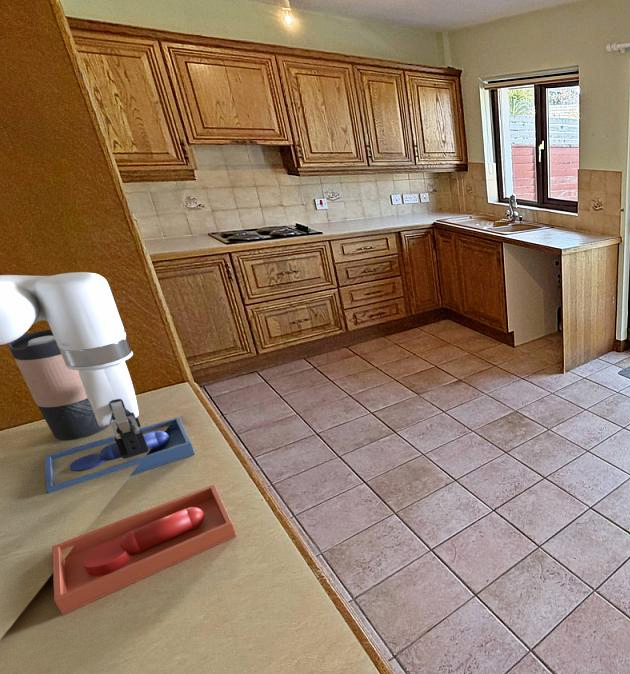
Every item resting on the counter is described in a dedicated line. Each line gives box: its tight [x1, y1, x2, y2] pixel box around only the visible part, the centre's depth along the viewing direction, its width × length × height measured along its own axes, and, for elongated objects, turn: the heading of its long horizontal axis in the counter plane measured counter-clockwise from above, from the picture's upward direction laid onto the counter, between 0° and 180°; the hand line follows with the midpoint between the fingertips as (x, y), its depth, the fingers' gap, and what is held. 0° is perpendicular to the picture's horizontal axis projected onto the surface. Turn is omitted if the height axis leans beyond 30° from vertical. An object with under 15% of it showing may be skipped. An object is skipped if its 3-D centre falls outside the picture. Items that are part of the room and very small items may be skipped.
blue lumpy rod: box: [68, 430, 169, 473], centre depth 81 cm, size 12×4×3 cm, turn 137°
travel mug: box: [7, 329, 111, 441], centre depth 83 cm, size 8×8×20 cm
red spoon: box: [83, 507, 204, 576], centre depth 65 cm, size 12×4×3 cm, turn 137°
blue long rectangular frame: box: [44, 416, 196, 494], centre depth 81 cm, size 11×17×2 cm, turn 137°
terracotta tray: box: [51, 484, 237, 616], centre depth 65 cm, size 11×17×2 cm, turn 137°
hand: (132, 441), depth 81 cm, fingers open, 9 cm apart
